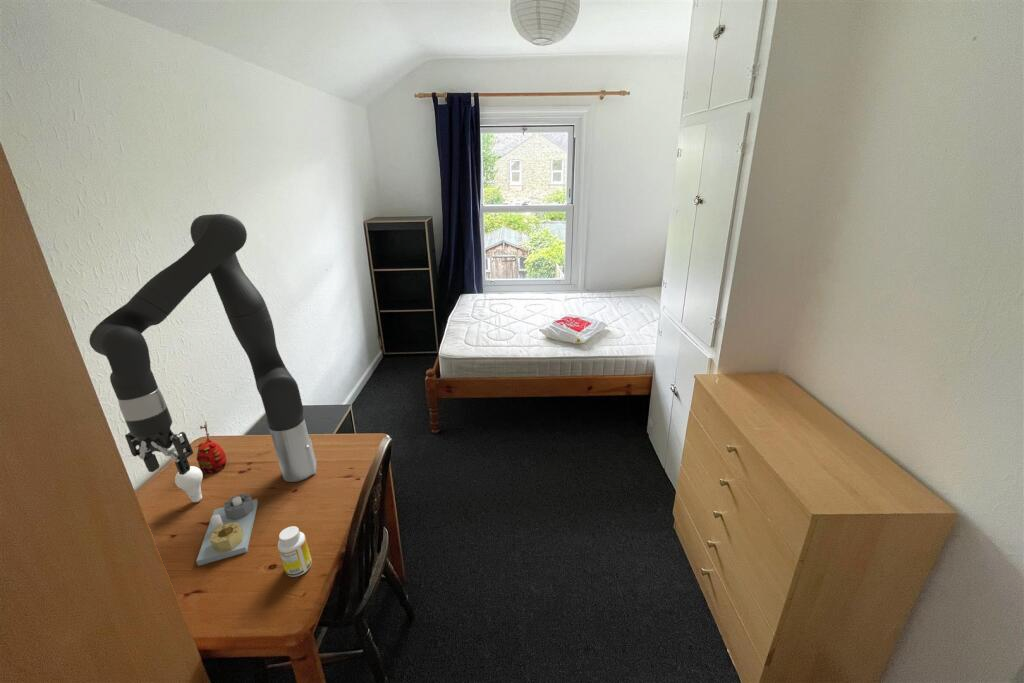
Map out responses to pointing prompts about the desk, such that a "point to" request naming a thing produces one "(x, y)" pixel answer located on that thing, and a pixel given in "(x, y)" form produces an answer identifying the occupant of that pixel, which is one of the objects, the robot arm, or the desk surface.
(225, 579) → the desk surface
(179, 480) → the lightbulb
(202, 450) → the red clay folk toy
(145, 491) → the desk surface
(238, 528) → the brass gear
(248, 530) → the gear board
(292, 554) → the supplement bottle
